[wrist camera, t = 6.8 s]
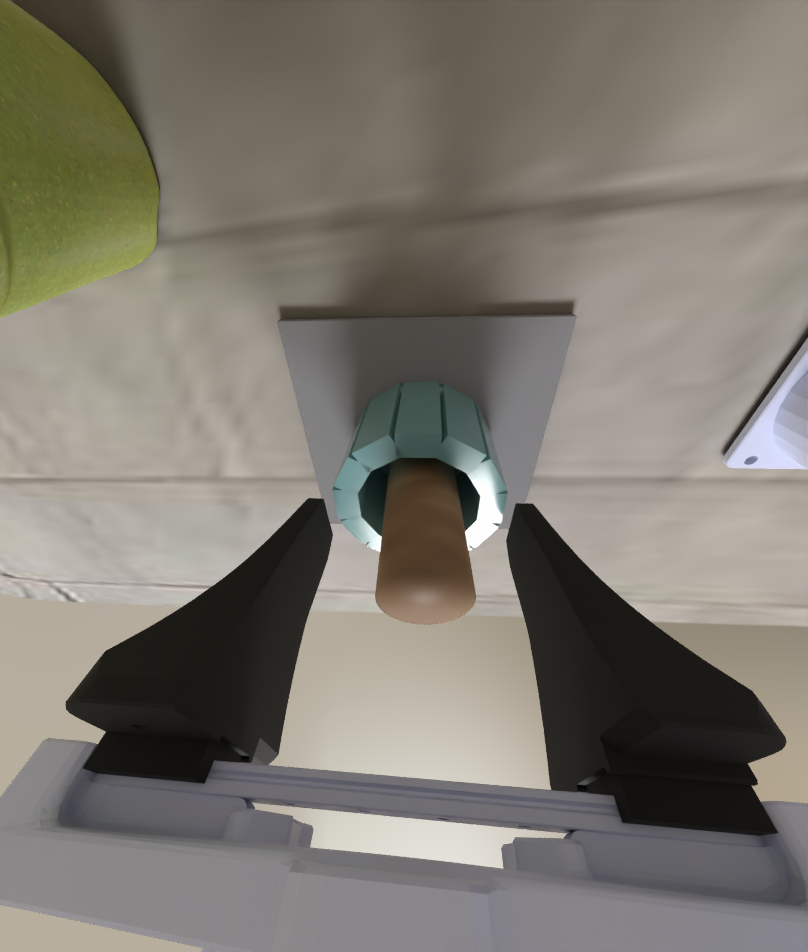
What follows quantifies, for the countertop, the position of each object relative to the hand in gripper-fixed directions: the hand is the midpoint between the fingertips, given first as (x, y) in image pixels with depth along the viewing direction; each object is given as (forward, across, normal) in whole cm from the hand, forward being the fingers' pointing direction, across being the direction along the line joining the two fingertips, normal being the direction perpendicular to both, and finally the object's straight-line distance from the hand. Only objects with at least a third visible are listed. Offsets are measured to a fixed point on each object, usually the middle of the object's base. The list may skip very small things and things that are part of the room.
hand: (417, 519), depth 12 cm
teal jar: (+5, 0, 0) cm, 5 cm away
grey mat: (+6, 0, 0) cm, 6 cm away
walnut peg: (+5, 0, 0) cm, 5 cm away
